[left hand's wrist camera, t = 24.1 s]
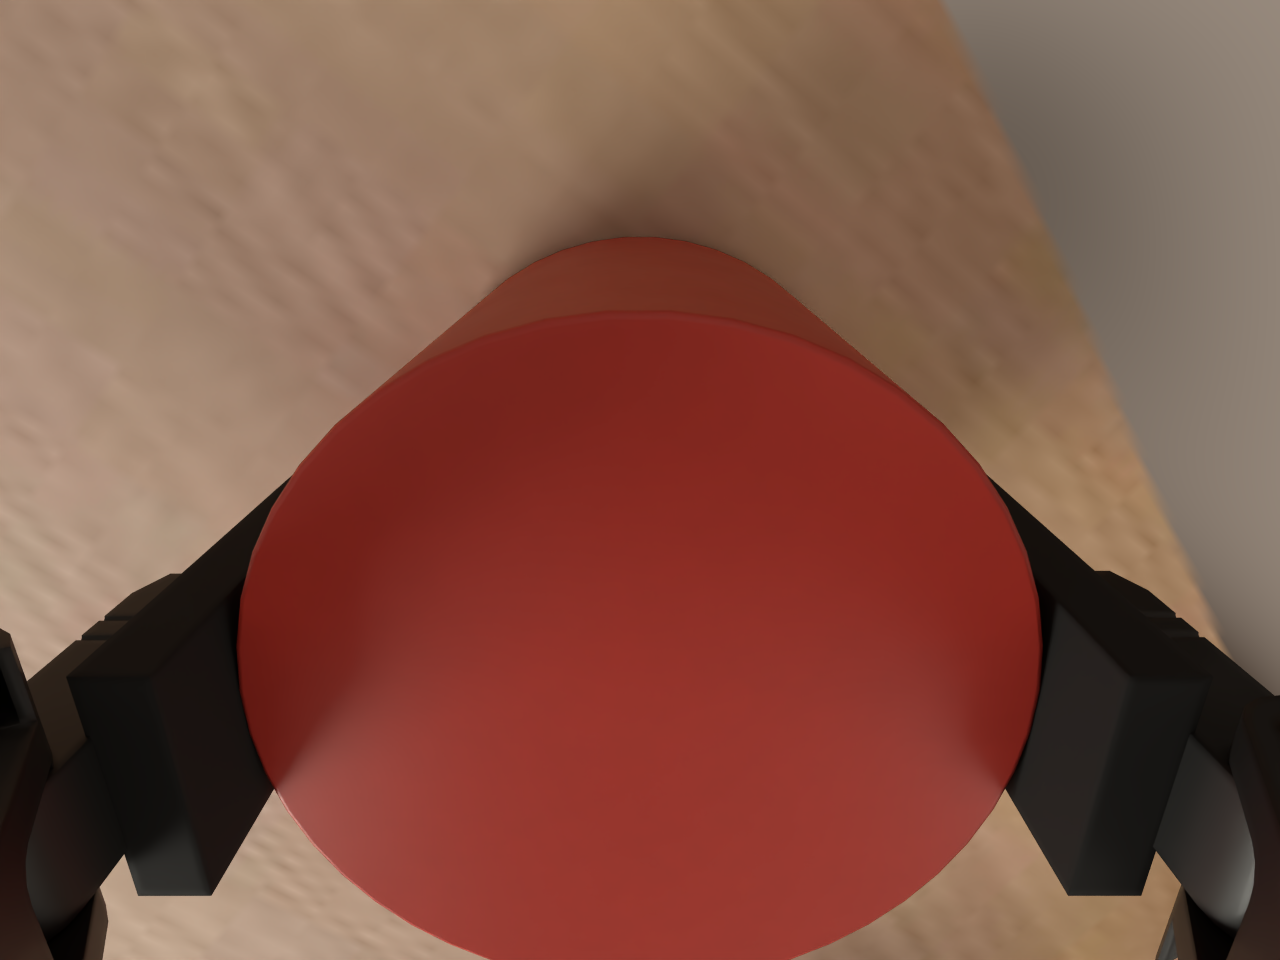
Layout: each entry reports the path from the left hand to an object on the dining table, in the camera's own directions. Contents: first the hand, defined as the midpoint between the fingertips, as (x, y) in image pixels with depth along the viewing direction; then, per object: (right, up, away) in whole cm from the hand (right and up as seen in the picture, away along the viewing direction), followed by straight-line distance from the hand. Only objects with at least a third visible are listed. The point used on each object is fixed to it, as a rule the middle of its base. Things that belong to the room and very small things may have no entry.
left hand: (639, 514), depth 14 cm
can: (0, +1, +3) cm, 3 cm away
